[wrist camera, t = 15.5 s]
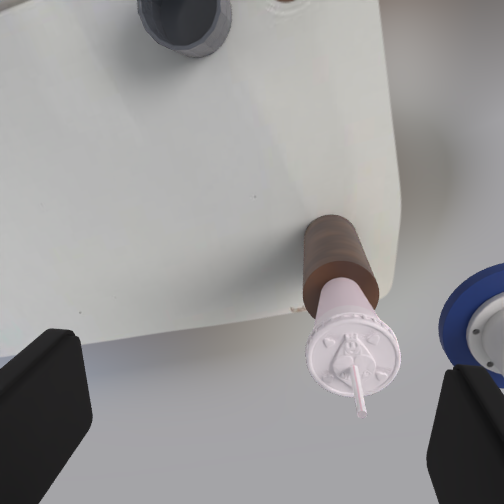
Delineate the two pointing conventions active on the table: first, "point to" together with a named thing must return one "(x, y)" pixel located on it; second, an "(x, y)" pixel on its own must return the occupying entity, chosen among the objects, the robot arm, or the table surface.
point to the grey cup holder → (187, 24)
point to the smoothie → (351, 345)
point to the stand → (334, 260)
